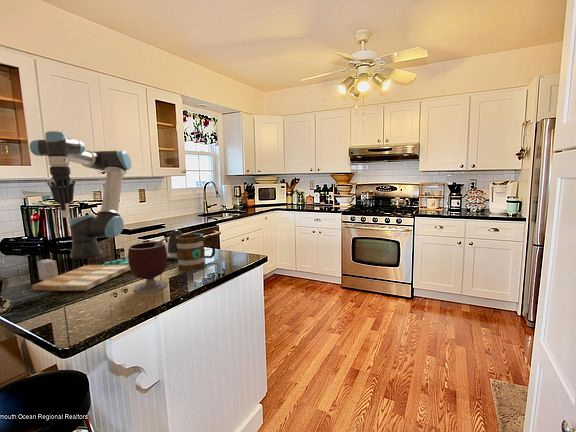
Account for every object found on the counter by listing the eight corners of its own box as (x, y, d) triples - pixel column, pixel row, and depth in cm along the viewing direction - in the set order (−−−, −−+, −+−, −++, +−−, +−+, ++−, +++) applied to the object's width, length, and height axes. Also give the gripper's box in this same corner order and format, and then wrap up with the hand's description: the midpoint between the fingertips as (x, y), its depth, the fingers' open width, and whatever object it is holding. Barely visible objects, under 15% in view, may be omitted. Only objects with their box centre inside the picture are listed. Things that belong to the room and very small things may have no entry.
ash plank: (110, 269, 150) (109, 265, 150) (132, 268, 149) (131, 264, 148) (59, 290, 123) (58, 285, 123) (86, 290, 121) (85, 285, 121)
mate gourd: (123, 293, 117) (117, 241, 115) (145, 281, 131) (140, 234, 128) (161, 294, 115) (156, 241, 113) (179, 281, 129) (175, 234, 126)
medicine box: (59, 279, 138) (56, 260, 136) (47, 282, 134) (44, 263, 133) (50, 277, 142) (48, 258, 140) (39, 280, 138) (36, 261, 137)
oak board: (87, 268, 152) (87, 264, 152) (109, 269, 151) (108, 265, 150) (32, 290, 125) (32, 285, 125) (58, 290, 123) (58, 285, 123)
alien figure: (104, 267, 156) (139, 268, 152) (103, 262, 156) (138, 263, 152) (131, 256, 175) (163, 257, 171) (131, 252, 175) (162, 253, 171)
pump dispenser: (164, 257, 168) (162, 230, 166) (182, 253, 176) (180, 227, 173) (172, 261, 161) (170, 232, 159) (191, 256, 168) (189, 229, 166)
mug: (183, 272, 140) (181, 240, 138) (172, 266, 151) (170, 236, 149) (222, 263, 153) (220, 233, 151) (210, 258, 163) (208, 230, 161)
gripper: (54, 165, 135) (61, 219, 139) (78, 166, 148) (84, 215, 151) (39, 166, 137) (46, 219, 140) (64, 166, 149) (71, 215, 153)
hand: (66, 217), depth 146 cm, fingers closed
